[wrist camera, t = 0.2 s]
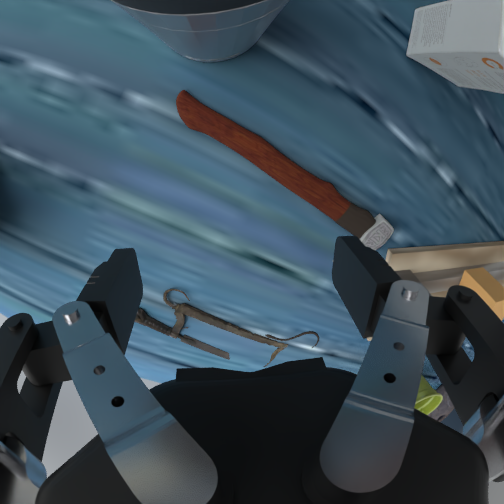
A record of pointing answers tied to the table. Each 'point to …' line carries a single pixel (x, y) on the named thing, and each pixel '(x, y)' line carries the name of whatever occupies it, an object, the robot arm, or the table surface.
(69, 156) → the table surface
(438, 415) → the perforated stone tool
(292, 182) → the hand axe
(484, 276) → the block
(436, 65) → the small box
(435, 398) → the plant pot
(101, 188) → the table surface
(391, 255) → the board
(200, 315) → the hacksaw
